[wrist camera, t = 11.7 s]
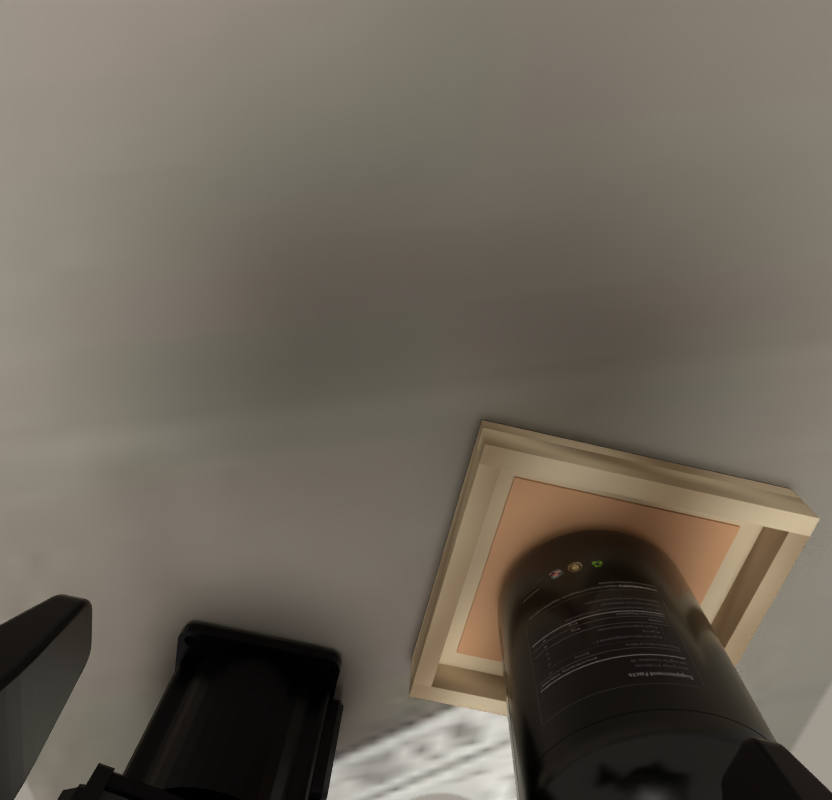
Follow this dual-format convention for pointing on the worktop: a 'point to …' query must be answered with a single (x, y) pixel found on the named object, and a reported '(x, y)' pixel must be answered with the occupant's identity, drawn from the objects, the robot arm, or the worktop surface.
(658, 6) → the worktop surface
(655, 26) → the worktop surface
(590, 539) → the supplement bottle
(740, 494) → the tray
